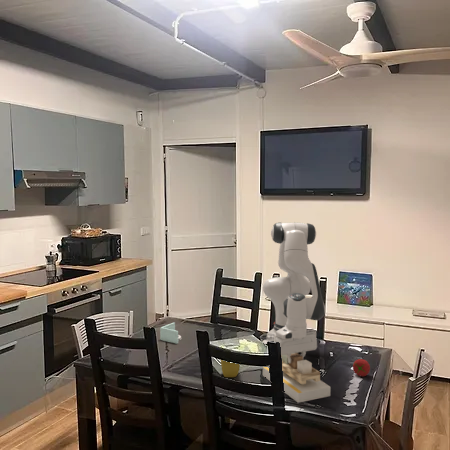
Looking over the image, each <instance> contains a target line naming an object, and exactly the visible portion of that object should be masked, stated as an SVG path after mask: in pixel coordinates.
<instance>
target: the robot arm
mask: <svg viewBox="0 0 450 450" xmlns="http://www.w3.org/2000/svg"><path fill="white" fill-rule="evenodd" d="M271 227H272V228H271V232H270V235H271V239H272V241H273V242H274V243H275V244H278V245H279V248H278V249H279V250H278V261H277V263H278V267H279V268H280V270H282V271H283V272H285V273H287V276H280V277H279V276H277V277H275V276H274V277H270V278H267V279H265V281H264V282H263V285H262V290H263V294H264V295H265V296H266V297H267V298H268V299H269V300H270V301H271V303H272V304H273V306H274V312H275V321H274V322H273V328H272V329H271V330H269V331H268V332H267V334H266V339H264V340H262V342H263V343H264V344H267V342H268V341H274V342H279V343H280V347H281V355H286V356H287V358H288V363H293V359H292V358H290V356H291V354H292V353H297V354H299V353H300V355H301V356H302V357H303V358H304V357H306V354H307V352H310V351H316V350H317V348H318V340H317V331H316V330H315V329H314V328H311V329H308V327H307V326H308V325H307V320H311V321H319V320H322V318H324V316H325V313H326V306H325V303H324V299H323V296H322V295H323V294H322V291H321V286H320V279H319V277H318V275H319V274H318V271H317V267H316V265H315V263H313V262H311V260H310V258H309V255H308V254H309V252H308V251H309V249H308V245H312V244H313V243H314V242H315V240H316V238H317V231H316V227H315V226H314V224H311V223H308V222H307V223H303V222H295V221H294V222H282V221H281V222H276V223H274V224H273V226H271ZM310 292H311V295H312V297H306V296H308V295H309V294H310ZM263 343H262V344H263ZM264 344H263V345H264Z"/></svg>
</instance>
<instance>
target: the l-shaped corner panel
mask: <svg viewBox="0 0 450 450" xmlns="http://www.w3.org/2000/svg"><path fill="white" fill-rule="evenodd" d="M159 328H160V329H159V332H160V333H159V337H160V338H159V339H160V341H164V342H169V343H172V344H176V345H177V344H179V342H180V341H181V340H182V336H181V335H180V334H179V330H176V322H172V323H169V324H165V325H163V326H161V327H159Z"/></svg>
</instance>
